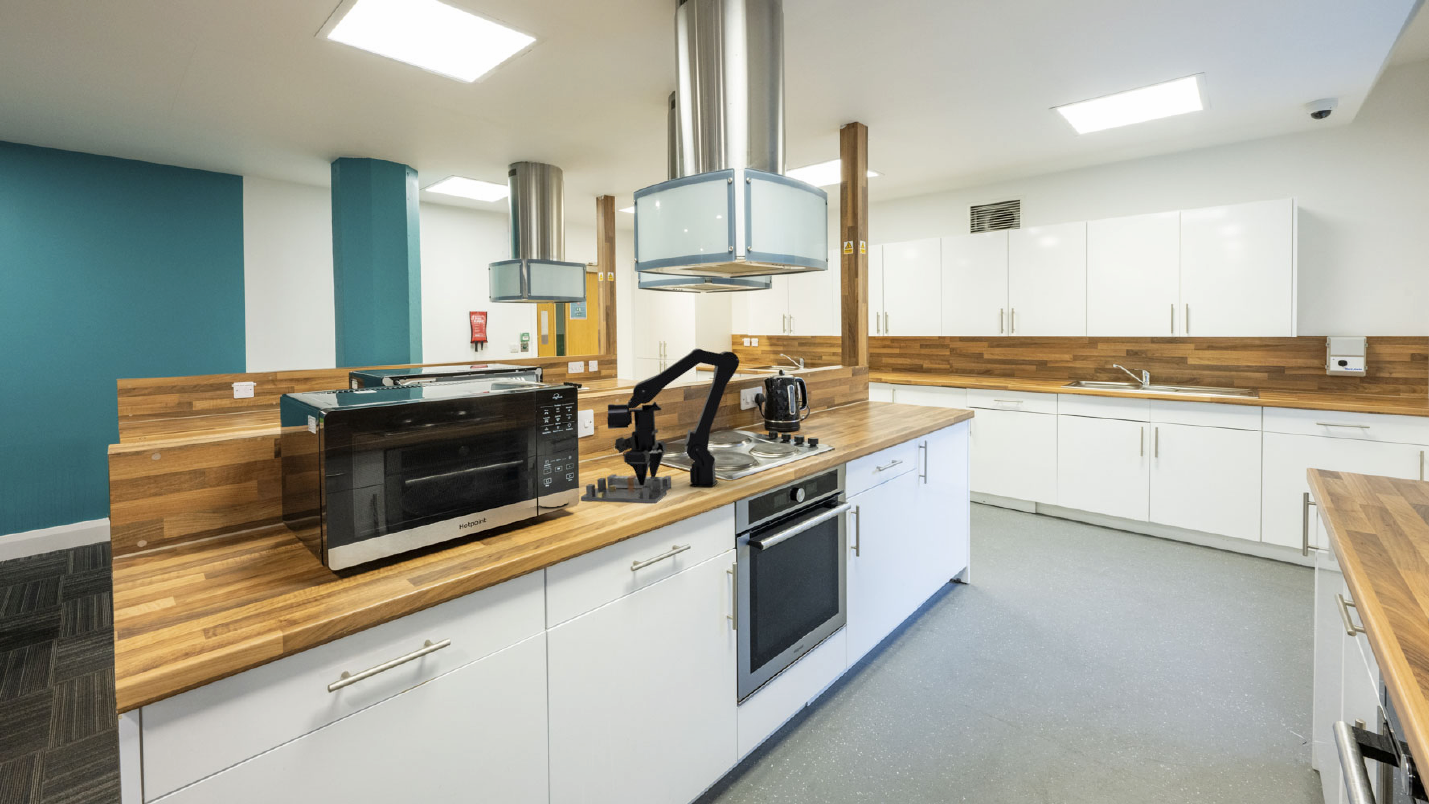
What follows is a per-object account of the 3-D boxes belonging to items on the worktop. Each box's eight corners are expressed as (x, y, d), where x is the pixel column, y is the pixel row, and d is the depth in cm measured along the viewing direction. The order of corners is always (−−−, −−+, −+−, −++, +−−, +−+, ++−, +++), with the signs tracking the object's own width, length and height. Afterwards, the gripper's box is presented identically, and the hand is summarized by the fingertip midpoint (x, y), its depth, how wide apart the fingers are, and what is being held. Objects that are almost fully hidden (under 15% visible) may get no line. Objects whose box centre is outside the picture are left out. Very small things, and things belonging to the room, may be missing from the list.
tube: (671, 487, 170) (670, 475, 170) (667, 490, 167) (667, 478, 167) (612, 485, 175) (612, 474, 174) (607, 488, 171) (607, 477, 171)
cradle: (666, 494, 163) (665, 479, 163) (655, 503, 154) (654, 488, 154) (595, 491, 168) (594, 477, 168) (581, 500, 159) (580, 485, 159)
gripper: (630, 421, 179) (633, 473, 181) (604, 432, 161) (607, 488, 163) (666, 421, 176) (668, 473, 178) (643, 432, 158) (646, 489, 160)
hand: (647, 481), depth 170 cm, fingers open, 9 cm apart
